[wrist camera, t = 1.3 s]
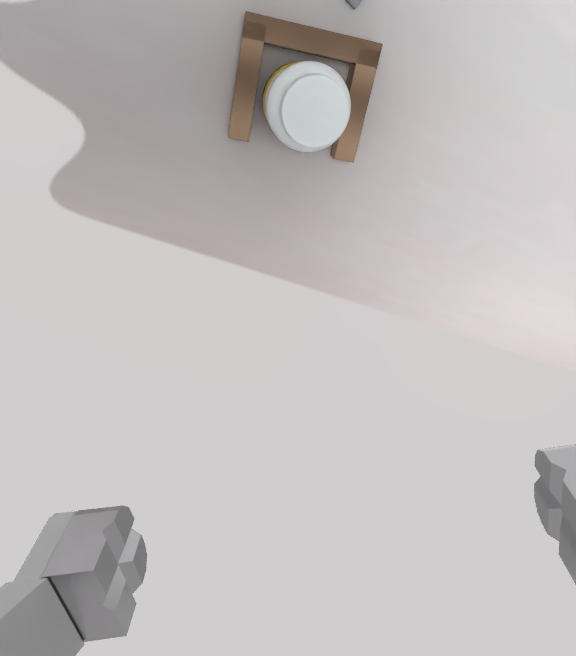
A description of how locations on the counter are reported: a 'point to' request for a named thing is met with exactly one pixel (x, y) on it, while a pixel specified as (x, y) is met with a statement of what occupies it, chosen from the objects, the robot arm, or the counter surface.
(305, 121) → the supplement bottle
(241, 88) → the slot holder
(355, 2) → the slate mat
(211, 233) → the counter surface
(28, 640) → the robot arm
